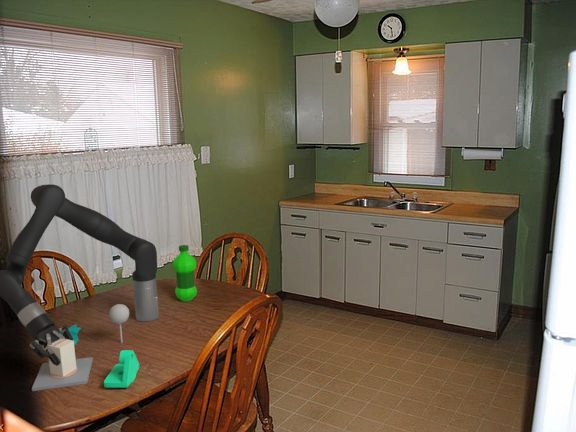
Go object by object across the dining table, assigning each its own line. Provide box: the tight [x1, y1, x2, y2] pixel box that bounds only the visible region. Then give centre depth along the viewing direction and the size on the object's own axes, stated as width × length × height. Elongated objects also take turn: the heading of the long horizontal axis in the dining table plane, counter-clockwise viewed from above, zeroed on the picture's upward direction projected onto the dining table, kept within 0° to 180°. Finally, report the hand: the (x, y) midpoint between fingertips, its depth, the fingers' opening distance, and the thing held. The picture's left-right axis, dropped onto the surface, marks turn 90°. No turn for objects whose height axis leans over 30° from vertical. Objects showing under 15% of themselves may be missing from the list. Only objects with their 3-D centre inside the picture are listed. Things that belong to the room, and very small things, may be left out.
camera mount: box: [103, 349, 140, 388], centre depth 162 cm, size 12×8×10 cm, turn 179°
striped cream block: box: [48, 339, 77, 377], centre depth 165 cm, size 6×6×10 cm
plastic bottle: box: [172, 244, 198, 302], centre depth 227 cm, size 10×10×25 cm
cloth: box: [60, 324, 82, 346], centre depth 192 cm, size 26×14×2 cm, turn 179°
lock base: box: [31, 356, 94, 392], centre depth 166 cm, size 16×16×6 cm
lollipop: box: [108, 303, 130, 344], centre depth 187 cm, size 7×7×15 cm
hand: (66, 359), depth 164 cm, fingers closed on striped cream block, 5 cm apart
